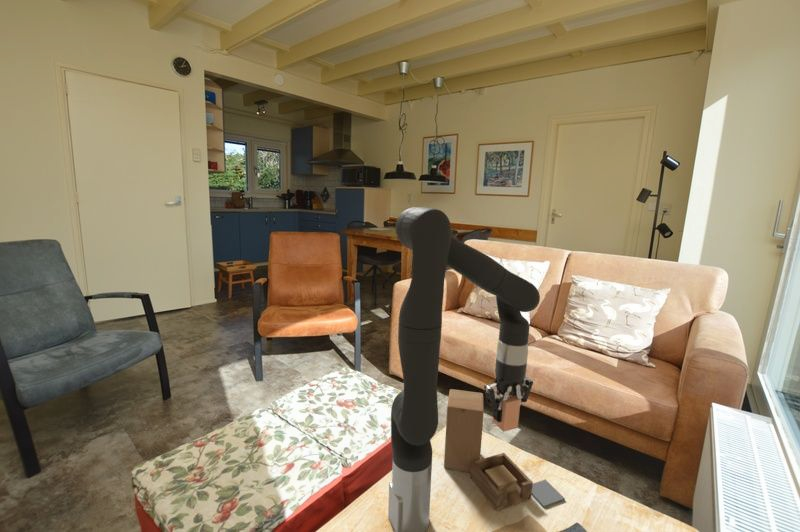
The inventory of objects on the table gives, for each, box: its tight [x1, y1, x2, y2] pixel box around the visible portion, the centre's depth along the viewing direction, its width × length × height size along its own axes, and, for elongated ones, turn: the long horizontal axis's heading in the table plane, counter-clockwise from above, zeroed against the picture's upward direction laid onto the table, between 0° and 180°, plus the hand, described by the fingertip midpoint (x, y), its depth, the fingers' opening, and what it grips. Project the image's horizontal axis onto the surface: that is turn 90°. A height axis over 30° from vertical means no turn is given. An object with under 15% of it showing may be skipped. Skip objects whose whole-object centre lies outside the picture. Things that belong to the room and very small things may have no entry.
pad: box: [531, 479, 566, 509], centre depth 101 cm, size 7×7×1 cm
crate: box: [470, 452, 534, 512], centre depth 102 cm, size 11×12×5 cm
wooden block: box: [443, 388, 485, 474], centre depth 111 cm, size 10×10×20 cm
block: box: [492, 394, 521, 432], centre depth 98 cm, size 4×4×8 cm
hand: (505, 418), depth 99 cm, fingers closed on block, 4 cm apart
